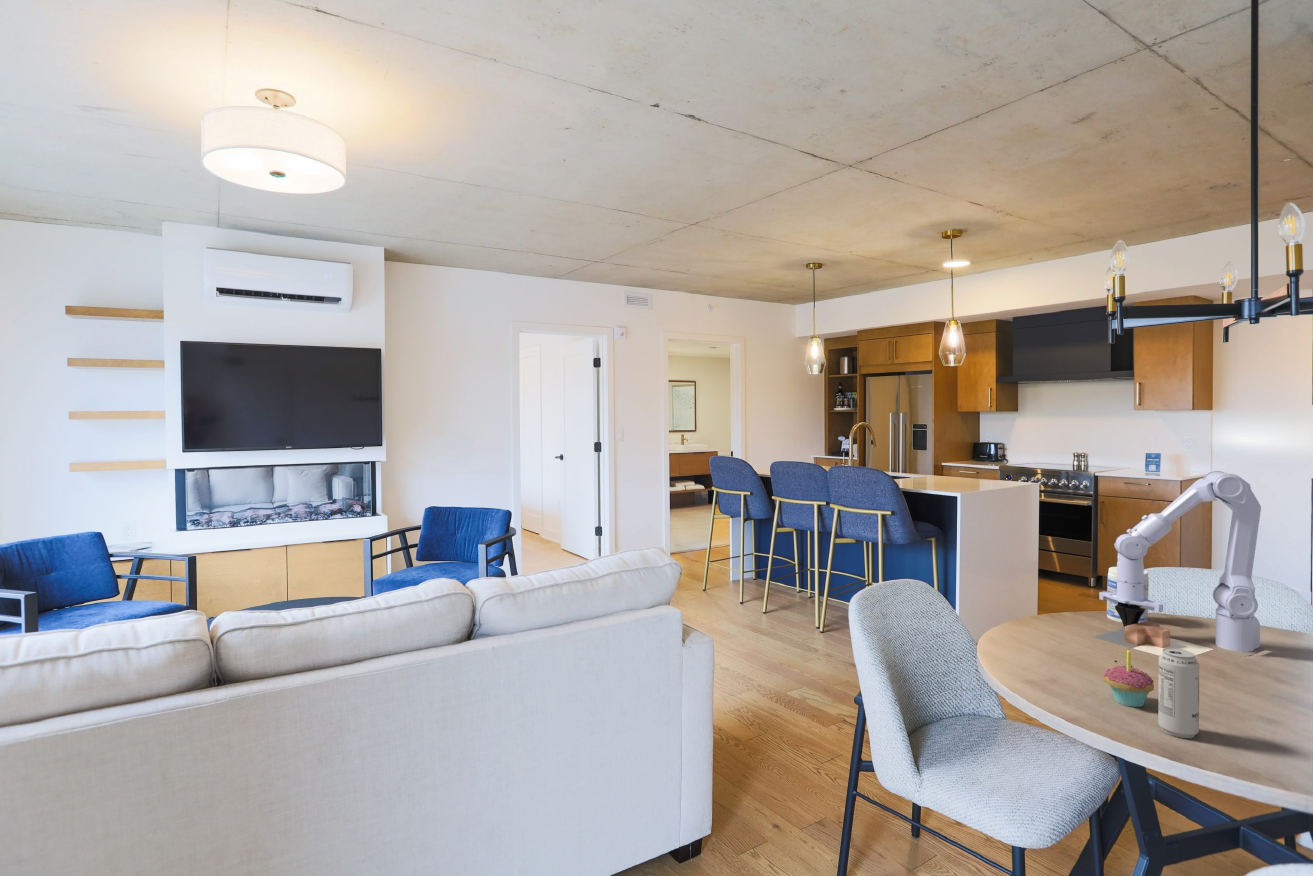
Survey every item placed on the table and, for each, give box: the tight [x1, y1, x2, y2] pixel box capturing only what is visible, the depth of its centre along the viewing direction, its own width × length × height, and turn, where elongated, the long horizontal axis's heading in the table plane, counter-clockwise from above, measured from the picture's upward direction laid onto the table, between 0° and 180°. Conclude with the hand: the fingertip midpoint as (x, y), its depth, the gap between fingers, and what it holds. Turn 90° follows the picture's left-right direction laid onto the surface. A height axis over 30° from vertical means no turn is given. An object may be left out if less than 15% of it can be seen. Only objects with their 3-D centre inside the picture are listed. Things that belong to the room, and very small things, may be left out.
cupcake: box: [1103, 647, 1155, 708], centre depth 141 cm, size 9×8×12 cm
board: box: [1092, 627, 1215, 657], centre depth 174 cm, size 16×20×1 cm
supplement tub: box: [1106, 566, 1150, 623], centre depth 194 cm, size 10×10×15 cm
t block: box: [1125, 620, 1171, 648], centre depth 174 cm, size 7×10×4 cm
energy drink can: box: [1157, 648, 1200, 739], centre depth 127 cm, size 6×6×15 cm
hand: (1130, 633), depth 178 cm, fingers closed
